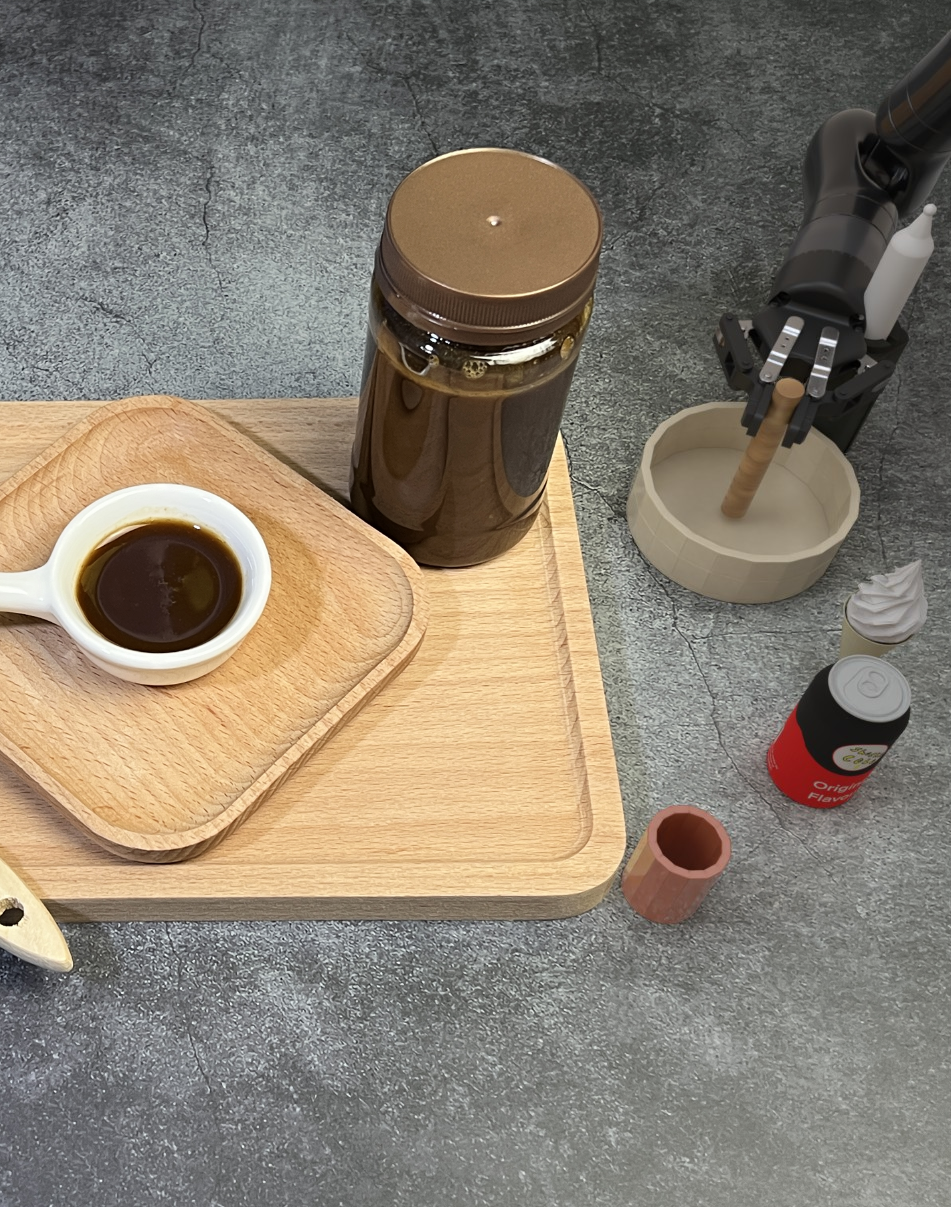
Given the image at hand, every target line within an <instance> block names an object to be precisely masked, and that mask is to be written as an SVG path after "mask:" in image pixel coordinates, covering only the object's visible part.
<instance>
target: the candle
mask: <svg viewBox="0 0 951 1207" xmlns="http://www.w3.org/2000/svg"><path fill="white" fill-rule="evenodd" d="M922 211H923V212H921V214H920V215H918V216H917V218H916V219H914V220H913V222H912V223H910V224H909V225H908V226H907V227H904V228H902V229H900V230H898V231H896V233H895V234H894V235H893V237H892V238H891V240H890V242H889V245H888V247H887V249H886V251H885V253H884V255H883V257H882V259H881V261H880V263H879V265H878V267H877V269H876V271H875V273H874V275H873V277H872V279H871V281H870V283H869V285H868V287H867V289H866V291H865V293H864V305H865V311H866V322H867V327H866V332H865V335H864V340H865V343H866V345H867V352H866V355H868V356H869V357H871V358H872V359H873V360H875V361H876V362H877V363H879V362H880V361H882V360H889V361H891V362H893V363H894V364H895V365H896V366H897V364H898V362H899V360H900V358H901V356H902V355H903V353H904V351H905V349H906V348H907V345H908V344H909V341H910V336H909V334H908V332H907V331H906V330H905V329H904V328H902V326H901V323H900V322H899V320H898V318H899V316H900V315H901V312H902V311H903V308H904V307H905V305H906V303H907V301H908V300H909V297H910V296H911V293H912V292H913V290H914V288H915V286H916V284H917V283H918V281H919V278H920V277H921V275H922V274H923V271H924V268H925V267H926V265H927V264H928V262H929V260H930V258H931V256H932V254H933V252H934V250H935V244H934V243H935V242H934V239H933V236H932V234H931V233H932V225H933V216H934V215H935V214H937V206H936V205H935V204H934V203H928V204H925V205H924V206H923V210H922ZM858 315H859V316H860V317H859V319H860V320H863V319H864V316H863V315H861V314H858ZM855 374H856V370H855V369H853V370H851V371H849V372H847V373H844V374H842V375H840V376H837V377H835V378H833V379H831V380H828V381H827V384H826V389H825V390H827V391H834V390H835V389H836V388H837V387H839V386H841V385H842V384H844V383H846V382H847V381H849V380H851V379H852V378H854V376H855ZM799 382H800V381H799ZM800 383H801V384H802V382H800ZM879 397H880V395H878V396H876V397H875V398H873V399H871V400H870V401H868V402H867V403H865V404H863V405H862V406H860V407H858V408H857V409H855V410H854V411H852V412H850V413H849V414H847V415H845V416H844V417H842V418H841V419H839V420H837V421H829V420H827V419H825V418H824V416H822V415H818V416H815V417H814V420H813V423H812V426H813V427H814V428H816V429H817V430H818V431H820V432H821V433H822V434H823V435H825V436H826V437H827V438H829V439H830V440H831V441H833V442H834V443H835V444H836V446H837V447H838V448H839V450H840V451H841V452H842V453H843V455H847V454H848V453H849V452H850V450H851V448H852V446H853V444H854V442H855V441H856V439H857V437H858V435H859V433H860V431H861V430H862V428H863V426H864V424H865V422H866V421H867V418H868V417H869V415H870V413H871V412H872V410H873V408H874V406H875V404H876V402H877V401H878V398H879Z"/></svg>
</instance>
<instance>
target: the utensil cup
mask: <svg viewBox="0 0 951 1207" xmlns="http://www.w3.org/2000/svg"><path fill="white" fill-rule="evenodd" d="M731 858H732V842H731V838H730V836H729V834H728V832H727V829H726V828H725V827H724V825H723V824H722V823H721V822H720V821H719V820H718V819H717V818H716V817H714V816H713V815H712V814H711V813H710V812H708V811H707V810H704V809H701V808H699V807H696V806H694V805H689V804H679V805H678V804H677V805H676V804H675V805H669V806H667V807H666V808H663V809H661V810H659V811H658V812H657V811H656V813H655V814H654V815H653V817H652V819H650V822H649V823H648V825H647V827H646V828H645V830H644V833H643V834H642V836H641V838H640V840H639V841H638V843H637V845H636V847H635V849H634V850H633V852H632V854H631V855H630V858H629V859H628V861H627V863H626V865H625V867H624V868H623V871H622V874H621V890H622V893H623V895H624V898H625V900H626V902H627V903H628V905H629V906H630V907H631V908H632V909H633V910H634V911H635V912H636V913H637V914H639V915H640V916H641V917H643V918H645V919H647V920H649V921H651V922H654V923H658V924H661V925H662V924H665V925H673V924H679V923H681V922H683V921H686V920H687V919H689V918H690V917H692V916H693V915H694V914H695V913H696V912H697V910H698V908H699V907H700V906H701V904H702V903H703V901H704V900H705V898H706V896H708V893H709V892H710V891H711V889H712V888H713V886H714V885H715V884H716V882H717V881H718V879H719V877H720V876H721V875H722V873H724V872H723V871H724V870H725V869H726V867H727V866H728V863H729V862H730V861H731Z"/></svg>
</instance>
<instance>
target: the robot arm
mask: <svg viewBox="0 0 951 1207" xmlns="http://www.w3.org/2000/svg"><path fill="white" fill-rule="evenodd" d="M950 159H951V28H950V29H949V30H948V31H947V32H946V34H945V35H944V36H943V37H942V38H941V39H940V40H939V41H938V42H937V43H936V44H935V45H934V47H932V48H931V49H930V51H928V53H926V54H925V55H924V56H923V57H922V58H921V59H920V60H919V61H918V62H917V63H916V64H915V65H914V66H912V68H911V69H910V70H909V71H908V72H907V73H906V74H905V75H904V76H903V77H902V78H901V79H900V80H898V81H897V82H896V83H895V84H894V85H893V86H892V87H891V88H890V89H889V90H888V91H887V92H886V94H885V95H884V96H883V98H882V99H881V101H880V102H879V104H878V107H877V108H876V112H875V113H874V112H872V111H870V110H868V109H864V108H860V107H851V108H847V109H843V110H840V111H838V112H836V113H834V114H832V115H831V116H829V117H828V118H827V119H826V120H824V121H823V122H822V123H821V125H819V127H818V128H817V130H815V132H814V133H813V135H812V137H811V139H810V140H809V143H808V145H807V147H806V151H805V154H804V158H803V162H802V168H801V189H802V190H801V191H802V200H803V215H804V216H803V218H802V221H801V223H800V226H799V228H798V231H797V234H796V236H795V239H794V240H793V241H792V243H791V245H790V246H789V247H788V249H787V251H786V253H785V255H784V258H783V260H782V262H781V264H780V267H779V269H778V270H777V272H776V274H775V280H774V282H773V285H772V287H771V289H770V292H769V295H768V296H767V300H766V302H765V304H764V307H763V309H762V310H760V311H759V312H757V313H755V314H754V316H752V319H745V320H739V319H738V316H737V315H736V314H735V313H733V312H723V314H721V315H720V319H719V321H718V324H717V327H716V329H715V332H714V334H713V337H712V340H711V341H712V343H713V347H714V349H715V352H716V355H717V358H718V361H719V364H720V366H721V369H722V372H723V374H724V378H725V380H726V382H727V386H728V387H729V389H730V390H732V391H734V392H741V391H743V392H745V393H746V395H747V396H748V399H747V402H748V403H747V405H746V408H745V410H744V413H743V415H742V418H741V426H743V427H746V428H748V430H747V432H746V435H748V436H751V437H754V438H755V437H756V435H757V432H758V430H759V428H760V426H761V424H762V421H763V419H764V417H765V414H766V411H767V409H768V406H769V403H770V401H771V398H772V393H773V390H774V388H775V386H776V384H777V382H778V381H779V380H778V379H779V378H780V377H786V378H791V379H795V380H797V381H800V382H802V385H803V386H804V389H805V392H804V394H803V397H802V399H801V401H800V402H799V404H798V405H797V408H796V410H795V412H794V414H793V416H792V418H791V420H790V422H789V424H788V427H787V430H786V432H785V435H784V438H783V441H782V444H781V446H782V447H785V448H788V449H791V447H792V445H793V443H795V444H799V445H800V444H801V443H803V442H804V441H805V439H806V437H807V435H808V433H809V431H810V429H811V426H812V423H813V420H814V417H815V416H818V415H822V416H824V418H825V419H827V420H829V421H837V420H839V419H841V418H842V417H844V416H845V415H847V414H849V413H850V412H852V411H854V410H855V409H857V408H858V407H860V406H862V405H863V404H865V403H867V402H868V401H870V400H871V399H873V398H875V397H876V396H878V395H879V396H880V395H881V394H883V393H884V391H885V390H886V387H887V385H888V384H889V382H890V380H891V379H892V377H893V375H894V374H895V371H896V369H897V364H896V365H895V364H894V363H893V362H891V361H889V360H882V361H880V362H879V363H877V362H876V361H875V360H873V359H872V358H871V357H869V356H868V355H866V352H867V345H866V343H865V340H864V335H865V332H866V327H867V322H866V311H865V305H864V293H865V291H866V289H867V287H868V285H869V283H870V281H871V279H872V277H873V275H874V273H875V271H876V269H877V267H878V265H879V263H880V261H881V259H882V257H883V255H884V253H885V251H886V249H887V247H888V245H889V242H890V240H891V238H892V237H893V235H894V234H895V233H897V229H898V225H899V221H900V220H903V219H906V218H908V217H910V216H911V215H913V214H914V213H916V212H917V211H918V210H919V209H920V208H921V207H922V206H923V205H924V203H925V201H926V200H927V199H928V197H929V196H930V194H931V193H932V191H933V189H934V188H935V185H936V183H937V181H938V179H939V177H940V176H941V174H942V172H943V169H944V167H945V166H946V164H947V163H948V162H949V160H950ZM858 314H861V315H863V316H864V319H863V320H860V319H859V317H860V316H859V315H858ZM748 339H749V340H750V341H751V344H752V345H753V347H754V348H755V350H756V353H757V354H758V356H759V357H760V360H761V361H762V363H763V366H762V368H761V369H759V368H757V367H755V361H754V358H753V356H752V353H751V350H750V348H749V345H748V342H747V341H748ZM853 369H855V370H856V374H855V376H854V378H852V379H851V380H849V381H847V382H846V383H844V384H842V385H841V386H839V387H837V388H836V389H835V390H834V391H827V390H825V389H826V384H827V381H828V380H831V379H833V378H835V377H837V376H840V375H842V374H844V373H847V372H849V371H851V370H853Z"/></svg>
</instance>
